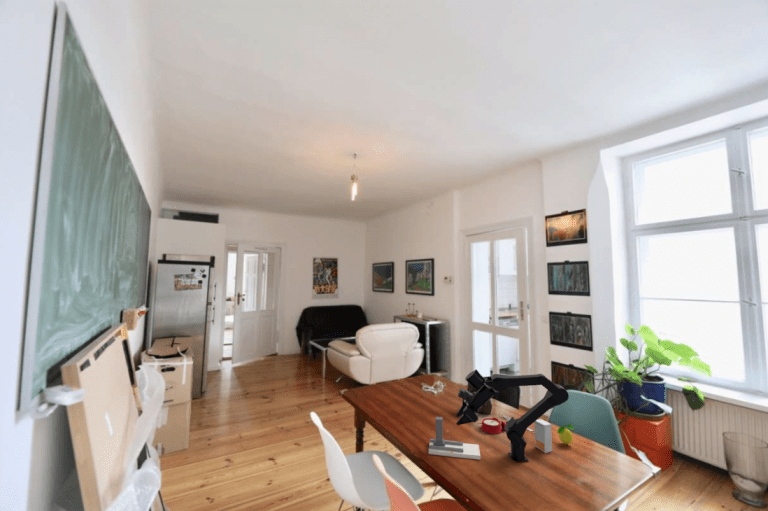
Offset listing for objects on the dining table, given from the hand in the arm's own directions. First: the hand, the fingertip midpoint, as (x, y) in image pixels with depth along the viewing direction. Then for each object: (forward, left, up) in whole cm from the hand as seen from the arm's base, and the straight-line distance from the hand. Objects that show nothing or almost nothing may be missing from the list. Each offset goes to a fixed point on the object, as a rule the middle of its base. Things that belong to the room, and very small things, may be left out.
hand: (456, 420), depth 149 cm
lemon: (+5, -53, -14) cm, 55 cm away
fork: (+26, -41, -14) cm, 50 cm away
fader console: (0, +1, -13) cm, 14 cm away
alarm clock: (+22, -25, -14) cm, 36 cm away
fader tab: (+2, +8, -12) cm, 14 cm away
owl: (+46, -27, -14) cm, 55 cm away
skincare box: (+1, -40, -14) cm, 42 cm away
